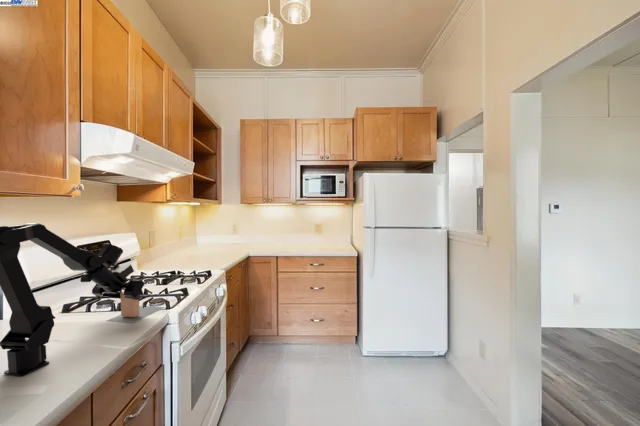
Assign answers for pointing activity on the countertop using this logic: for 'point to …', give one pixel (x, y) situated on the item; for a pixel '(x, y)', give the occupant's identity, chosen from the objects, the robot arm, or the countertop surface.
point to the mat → (143, 313)
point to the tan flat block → (129, 306)
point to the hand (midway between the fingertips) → (132, 298)
